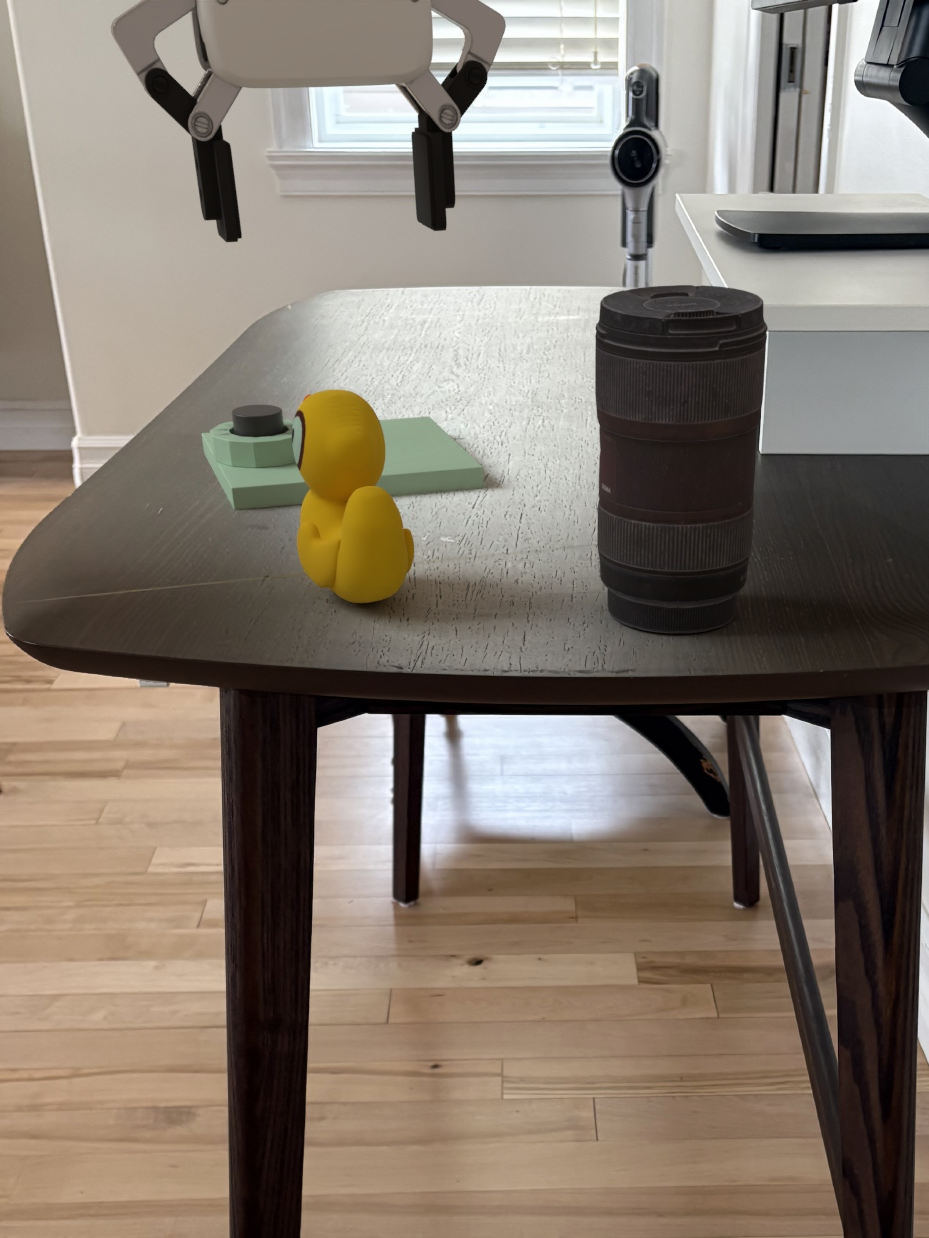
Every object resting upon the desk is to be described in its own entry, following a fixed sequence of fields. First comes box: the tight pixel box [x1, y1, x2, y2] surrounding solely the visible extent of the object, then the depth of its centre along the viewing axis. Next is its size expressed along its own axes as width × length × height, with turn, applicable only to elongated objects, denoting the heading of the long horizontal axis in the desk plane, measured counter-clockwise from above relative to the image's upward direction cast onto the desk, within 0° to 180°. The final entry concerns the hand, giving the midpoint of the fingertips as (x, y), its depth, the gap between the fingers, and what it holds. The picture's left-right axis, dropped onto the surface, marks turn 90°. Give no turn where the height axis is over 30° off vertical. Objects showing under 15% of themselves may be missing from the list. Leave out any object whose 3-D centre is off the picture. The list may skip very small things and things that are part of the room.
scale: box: [201, 415, 485, 511], centre depth 100 cm, size 16×14×3 cm
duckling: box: [292, 389, 415, 604], centre depth 78 cm, size 11×5×10 cm, turn 25°
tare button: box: [231, 404, 285, 437], centre depth 97 cm, size 3×3×2 cm
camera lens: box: [594, 284, 769, 634], centre depth 75 cm, size 8×8×15 cm
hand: (332, 232), depth 71 cm, fingers open, 9 cm apart
